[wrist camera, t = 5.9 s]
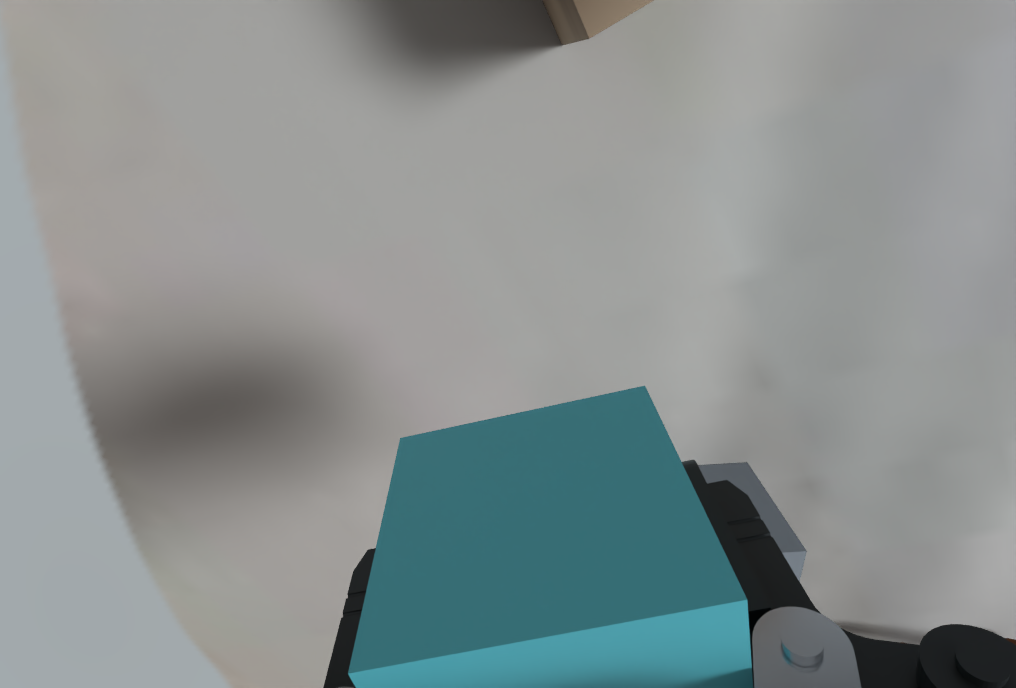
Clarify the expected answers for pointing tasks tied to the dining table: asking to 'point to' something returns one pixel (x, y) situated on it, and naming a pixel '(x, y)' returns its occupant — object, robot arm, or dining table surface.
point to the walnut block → (587, 16)
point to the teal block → (550, 560)
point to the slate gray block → (761, 508)
